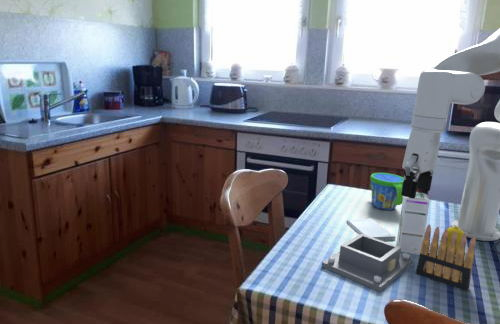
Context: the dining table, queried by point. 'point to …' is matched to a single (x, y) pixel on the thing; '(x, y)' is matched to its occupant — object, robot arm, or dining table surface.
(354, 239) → the frame
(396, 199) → the snack cup
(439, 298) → the dining table surface
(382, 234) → the hard drive
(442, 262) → the ammunition clip
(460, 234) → the lemon
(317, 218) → the dining table surface
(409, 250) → the syrup box
